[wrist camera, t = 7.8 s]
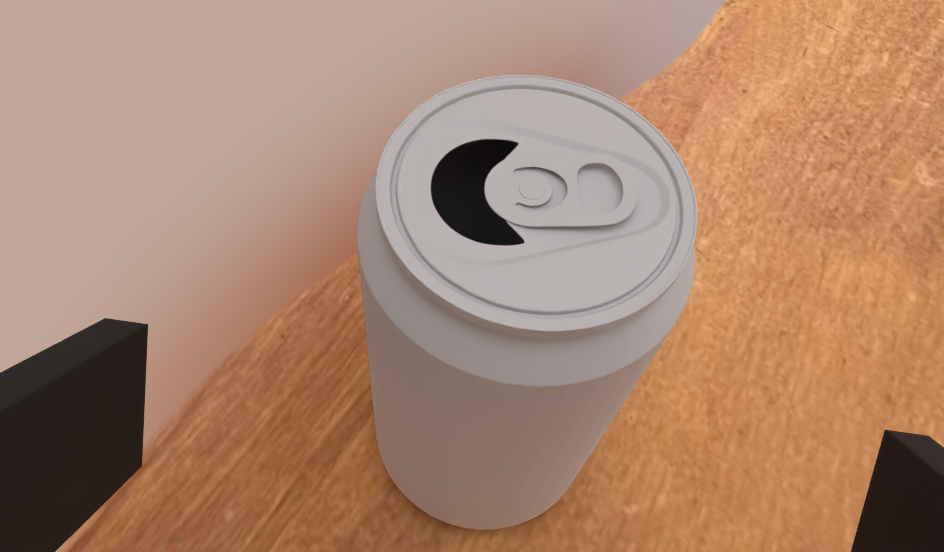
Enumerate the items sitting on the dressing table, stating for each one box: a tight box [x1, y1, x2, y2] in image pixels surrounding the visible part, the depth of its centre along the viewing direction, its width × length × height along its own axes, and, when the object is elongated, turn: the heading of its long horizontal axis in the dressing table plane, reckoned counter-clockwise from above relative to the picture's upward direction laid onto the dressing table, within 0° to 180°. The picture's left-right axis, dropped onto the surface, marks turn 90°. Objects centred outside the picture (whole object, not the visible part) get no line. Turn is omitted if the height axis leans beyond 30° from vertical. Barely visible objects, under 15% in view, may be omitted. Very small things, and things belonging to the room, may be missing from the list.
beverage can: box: [357, 75, 698, 530], centre depth 18 cm, size 6×6×12 cm
